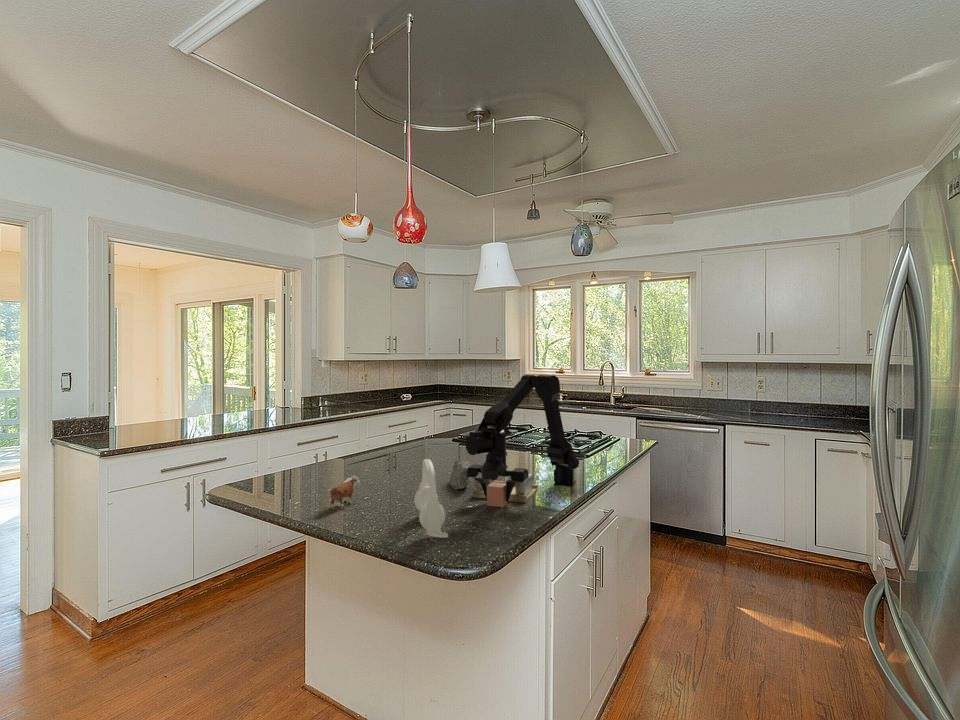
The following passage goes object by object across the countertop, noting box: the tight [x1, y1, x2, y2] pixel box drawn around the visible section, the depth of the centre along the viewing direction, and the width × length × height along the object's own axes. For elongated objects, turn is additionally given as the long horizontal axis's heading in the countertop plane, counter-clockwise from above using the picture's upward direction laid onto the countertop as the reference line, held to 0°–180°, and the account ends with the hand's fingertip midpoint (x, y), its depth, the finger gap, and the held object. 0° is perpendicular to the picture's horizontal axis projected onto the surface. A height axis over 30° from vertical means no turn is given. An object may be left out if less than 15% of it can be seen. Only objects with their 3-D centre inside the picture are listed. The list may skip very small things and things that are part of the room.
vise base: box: [471, 479, 539, 503], centre depth 165 cm, size 18×14×6 cm
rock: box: [449, 459, 471, 491], centre depth 175 cm, size 15×8×10 cm, turn 178°
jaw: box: [515, 473, 534, 495], centre depth 163 cm, size 3×10×5 cm, turn 158°
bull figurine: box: [330, 475, 361, 508], centre depth 155 cm, size 4×13×8 cm, turn 161°
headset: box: [414, 458, 449, 539], centre depth 136 cm, size 20×7×18 cm, turn 12°
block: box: [486, 482, 509, 508], centre depth 154 cm, size 5×5×6 cm
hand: (497, 500), depth 155 cm, fingers open, 6 cm apart
